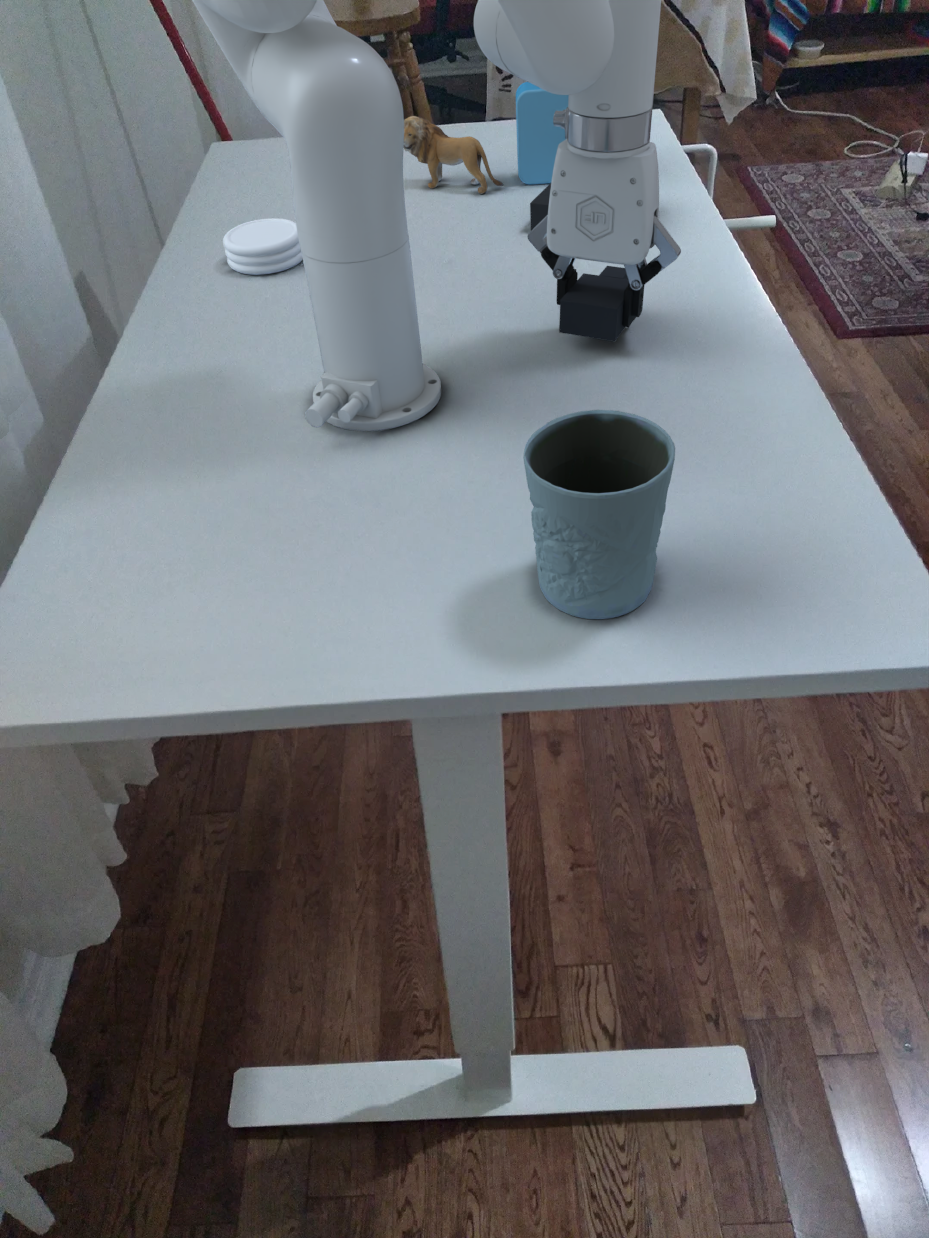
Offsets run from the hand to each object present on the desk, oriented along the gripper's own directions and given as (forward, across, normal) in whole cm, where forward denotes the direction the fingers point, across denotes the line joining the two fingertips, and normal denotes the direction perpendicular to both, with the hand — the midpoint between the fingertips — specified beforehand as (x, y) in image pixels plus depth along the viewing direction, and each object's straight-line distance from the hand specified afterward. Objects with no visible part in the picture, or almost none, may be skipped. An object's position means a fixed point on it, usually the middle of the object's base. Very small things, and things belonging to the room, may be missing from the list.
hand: (598, 315), depth 100 cm
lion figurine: (+2, -34, +37) cm, 50 cm away
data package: (+2, -20, +44) cm, 48 cm away
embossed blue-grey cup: (+3, +13, -37) cm, 39 cm away
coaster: (+3, -46, +8) cm, 47 cm away
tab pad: (+1, 0, +1) cm, 2 cm away
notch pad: (+2, -11, +30) cm, 32 cm away
